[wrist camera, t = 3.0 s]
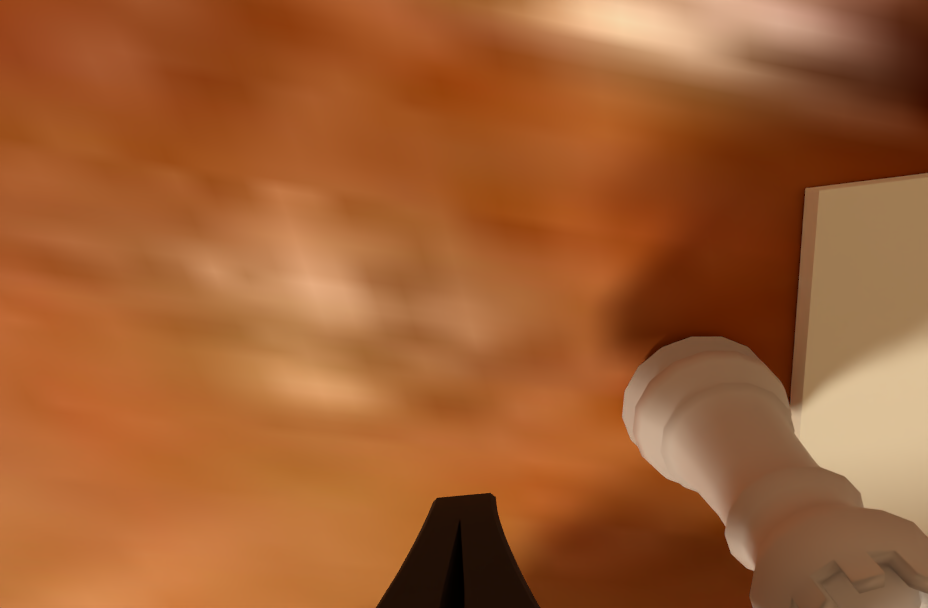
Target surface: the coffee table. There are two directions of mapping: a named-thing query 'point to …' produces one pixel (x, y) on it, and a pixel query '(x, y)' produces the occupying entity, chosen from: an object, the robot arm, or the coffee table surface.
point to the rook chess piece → (769, 483)
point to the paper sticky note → (866, 340)
